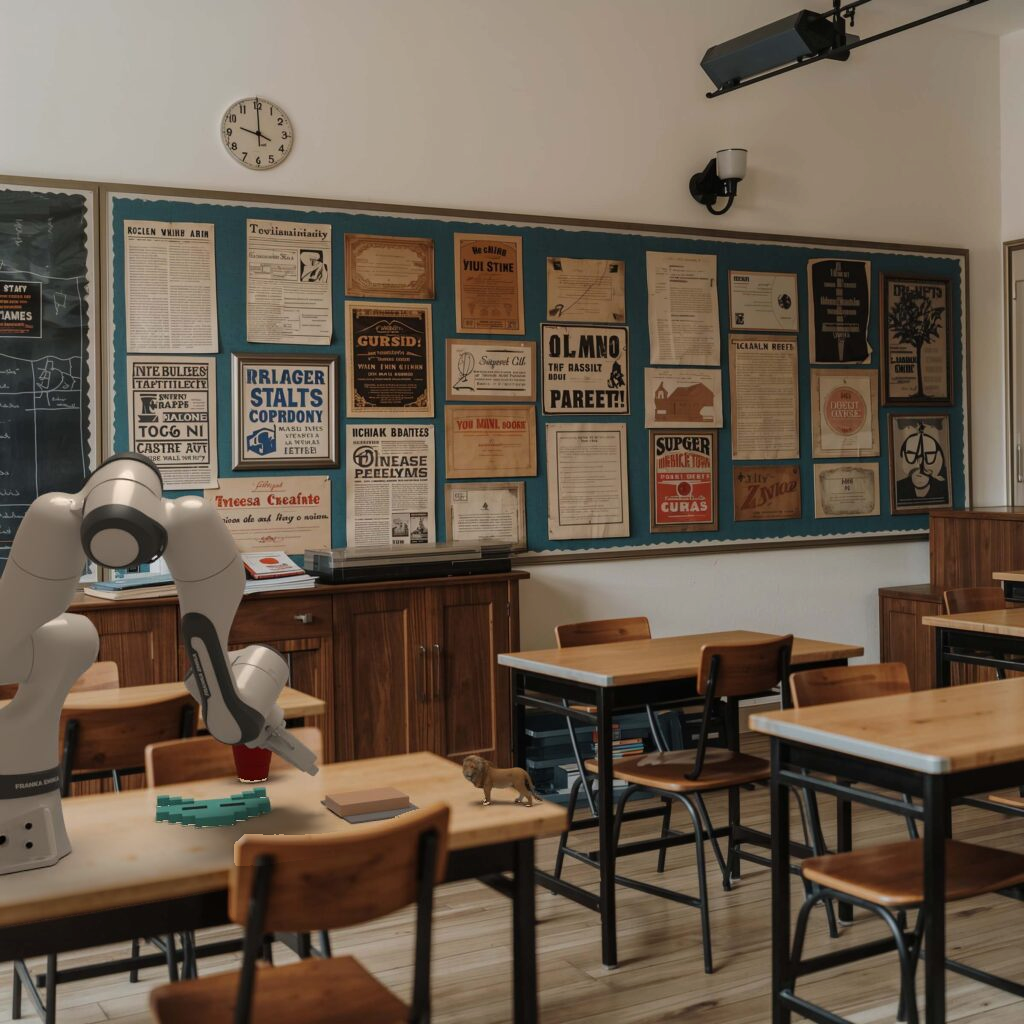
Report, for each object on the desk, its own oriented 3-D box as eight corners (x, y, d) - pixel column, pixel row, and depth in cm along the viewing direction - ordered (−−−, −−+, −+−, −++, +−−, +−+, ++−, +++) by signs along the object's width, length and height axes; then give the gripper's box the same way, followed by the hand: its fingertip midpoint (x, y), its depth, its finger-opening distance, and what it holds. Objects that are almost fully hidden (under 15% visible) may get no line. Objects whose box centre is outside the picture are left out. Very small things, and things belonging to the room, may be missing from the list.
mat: (351, 824, 214) (351, 822, 214) (320, 802, 230) (320, 800, 230) (425, 813, 220) (425, 811, 220) (391, 793, 237) (390, 791, 237)
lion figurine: (461, 807, 224) (460, 758, 224) (465, 800, 230) (464, 752, 230) (541, 807, 223) (540, 757, 223) (543, 800, 228) (542, 751, 228)
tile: (340, 805, 218) (409, 796, 224) (325, 795, 226) (391, 786, 232) (340, 817, 218) (409, 807, 224) (325, 806, 226) (392, 797, 232)
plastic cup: (267, 787, 244) (266, 726, 244) (217, 785, 246) (216, 726, 246) (289, 775, 255) (288, 717, 254) (241, 773, 257) (239, 716, 257)
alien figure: (157, 807, 231) (155, 834, 212) (157, 795, 231) (155, 821, 212) (265, 798, 237) (273, 824, 217) (265, 786, 237) (273, 811, 217)
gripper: (288, 718, 209) (344, 769, 213) (257, 701, 227) (309, 748, 231) (263, 747, 207) (320, 798, 211) (233, 727, 225) (286, 774, 230)
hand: (314, 771), depth 222 cm, fingers closed
